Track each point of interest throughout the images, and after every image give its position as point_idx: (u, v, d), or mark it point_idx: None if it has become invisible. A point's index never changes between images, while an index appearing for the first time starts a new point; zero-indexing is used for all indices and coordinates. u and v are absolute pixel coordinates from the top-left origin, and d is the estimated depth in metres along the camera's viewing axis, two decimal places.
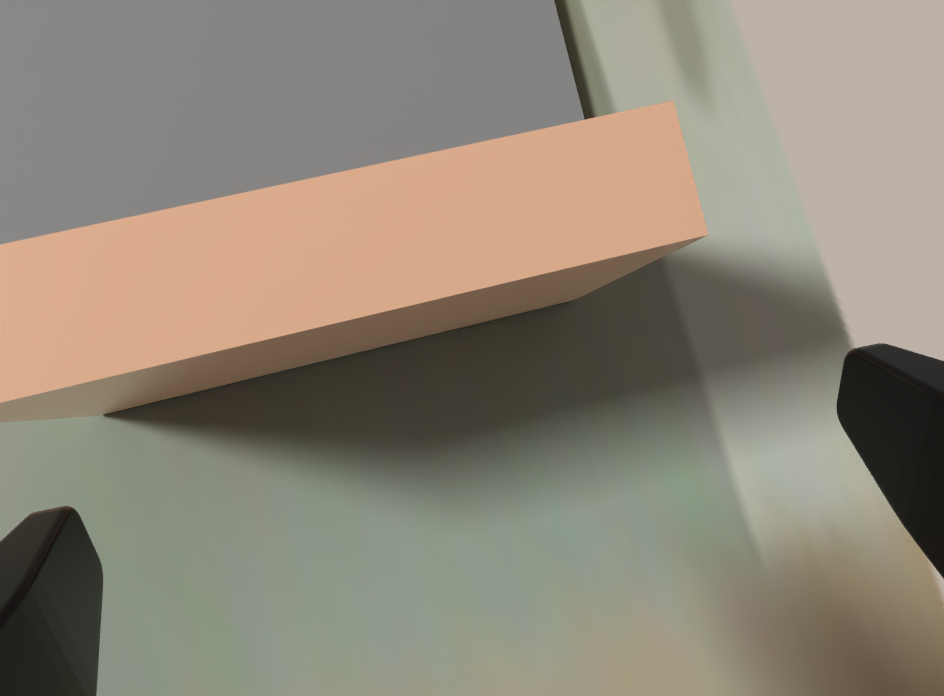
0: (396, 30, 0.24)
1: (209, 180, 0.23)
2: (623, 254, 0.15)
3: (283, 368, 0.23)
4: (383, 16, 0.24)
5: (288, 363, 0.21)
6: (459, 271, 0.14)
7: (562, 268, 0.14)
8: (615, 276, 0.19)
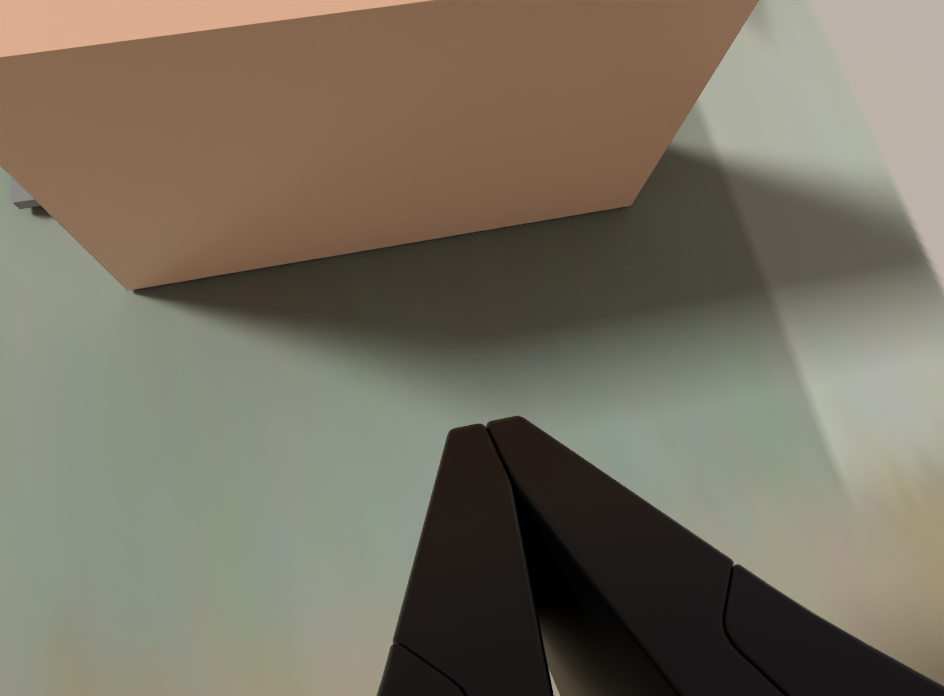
0: None
1: None
2: None
3: (324, 242, 0.21)
4: None
5: (331, 216, 0.20)
6: None
7: None
8: (680, 104, 0.18)
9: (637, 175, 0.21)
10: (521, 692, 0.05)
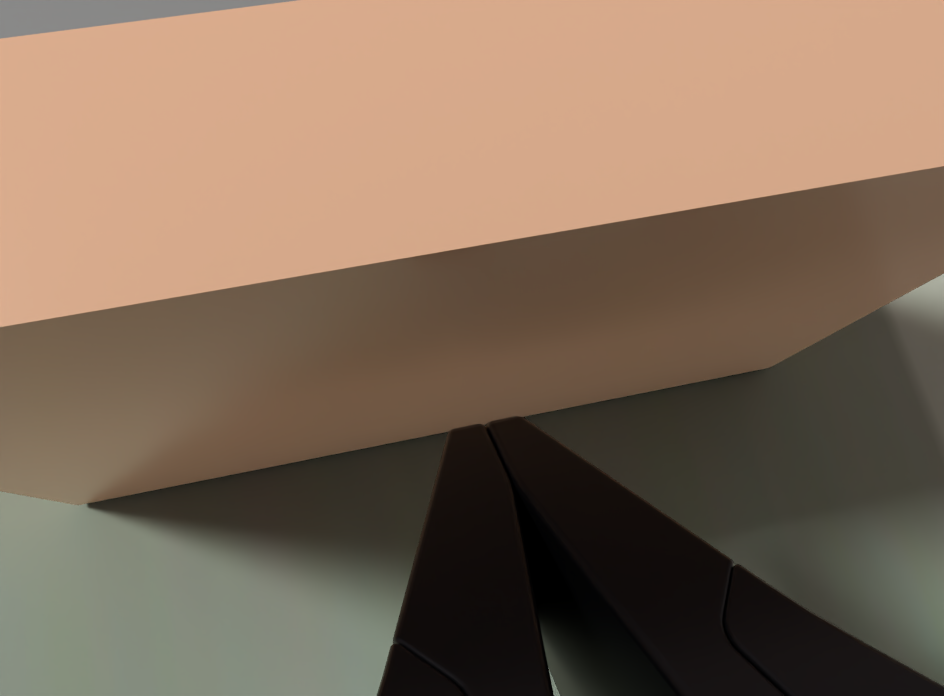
0: None
1: None
2: None
3: (355, 441, 0.15)
4: None
5: (368, 424, 0.14)
6: (764, 155, 0.07)
7: None
8: (905, 286, 0.12)
9: (796, 346, 0.15)
10: (521, 692, 0.05)
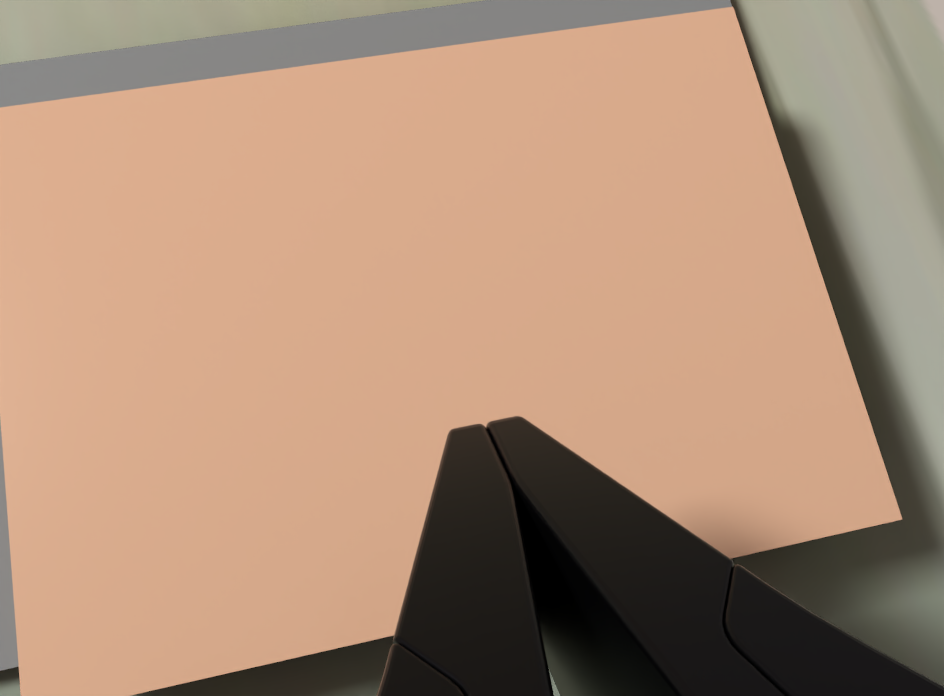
0: None
1: None
2: (655, 19, 0.16)
3: (374, 570, 0.13)
4: None
5: (376, 468, 0.13)
6: None
7: None
8: (786, 225, 0.15)
9: (843, 407, 0.14)
10: (521, 692, 0.05)
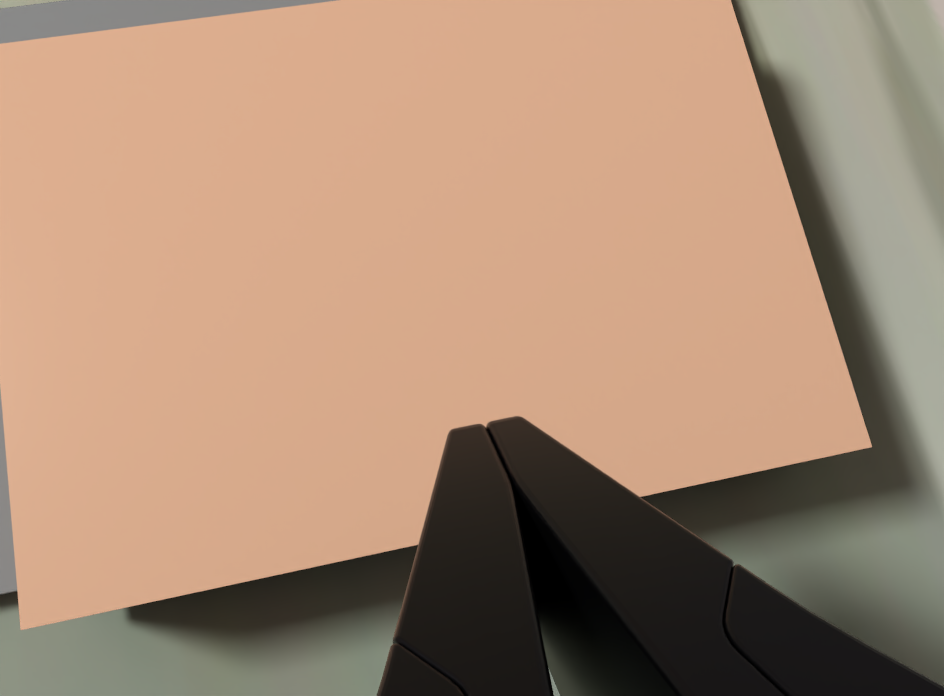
0: None
1: None
2: None
3: (360, 491, 0.13)
4: None
5: (362, 394, 0.14)
6: None
7: None
8: (764, 164, 0.15)
9: (817, 339, 0.14)
10: (521, 692, 0.05)
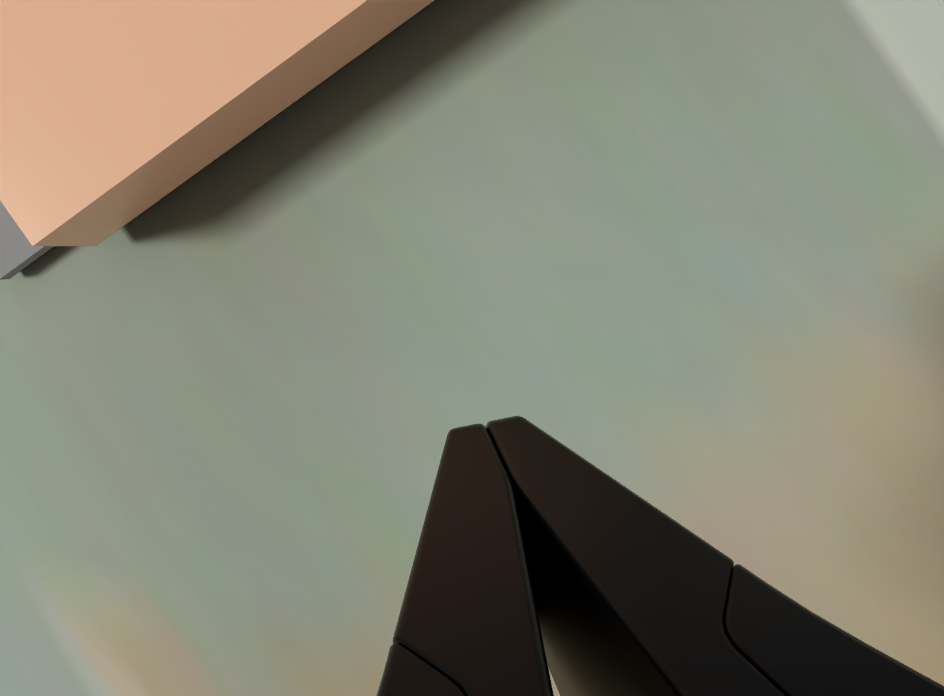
0: None
1: None
2: None
3: (208, 51, 0.16)
4: None
5: None
6: None
7: None
8: None
9: None
10: (521, 692, 0.05)
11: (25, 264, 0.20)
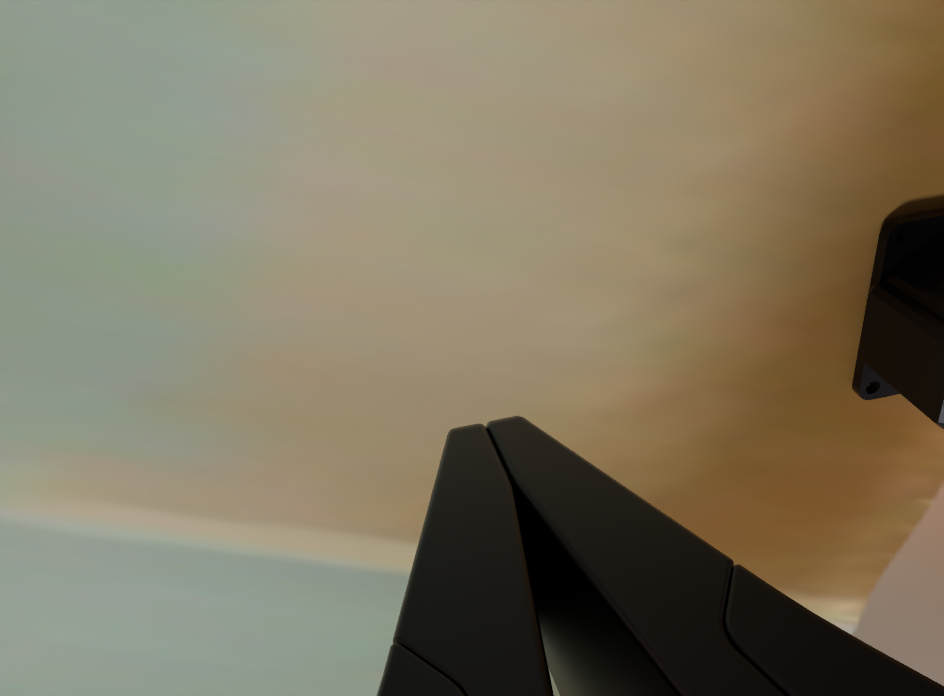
0: None
1: None
2: None
3: None
4: None
5: None
6: None
7: None
8: None
9: None
10: (521, 692, 0.05)
11: None
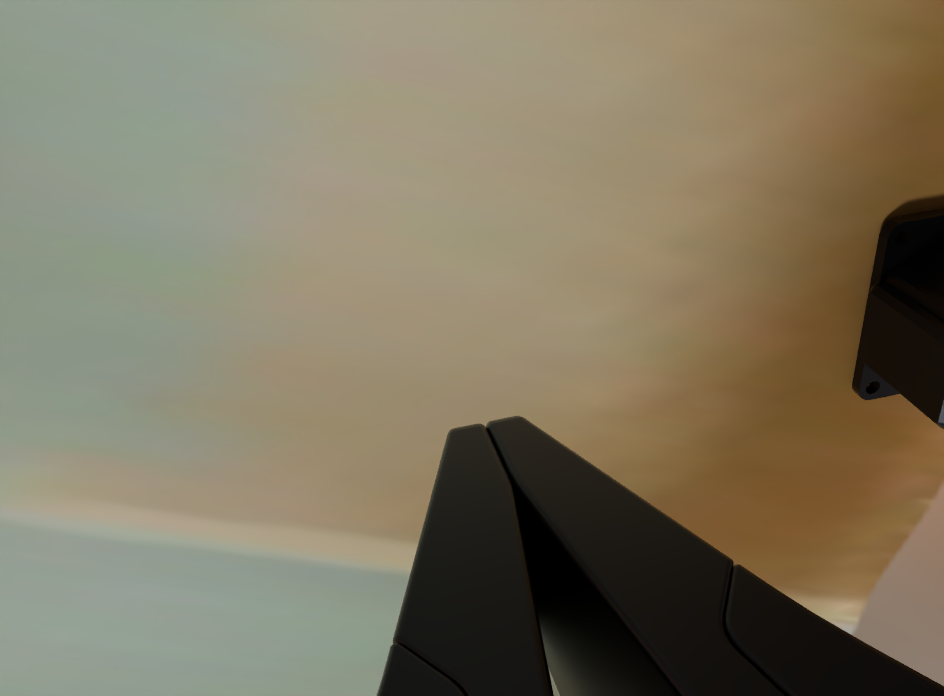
0: None
1: None
2: None
3: None
4: None
5: None
6: None
7: None
8: None
9: None
10: (521, 692, 0.05)
11: None
